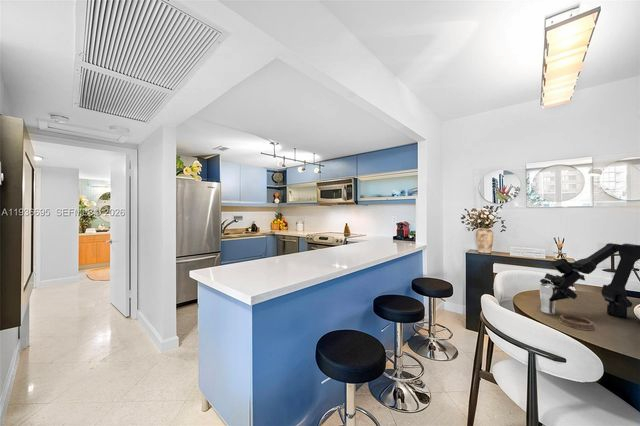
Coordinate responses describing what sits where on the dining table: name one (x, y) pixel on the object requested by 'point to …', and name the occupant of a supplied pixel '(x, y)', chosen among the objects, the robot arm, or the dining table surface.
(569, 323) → the faceted bowl
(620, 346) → the dining table surface
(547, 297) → the beer glass
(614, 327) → the dining table surface
